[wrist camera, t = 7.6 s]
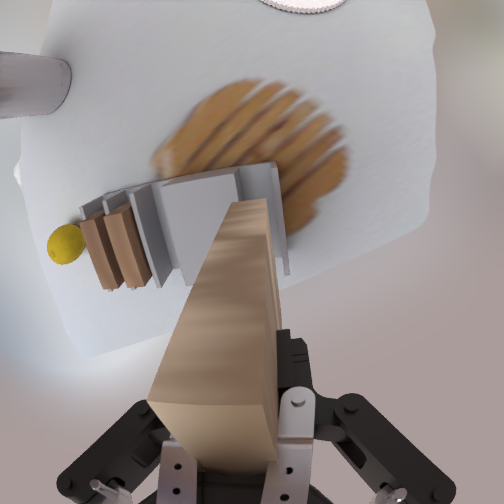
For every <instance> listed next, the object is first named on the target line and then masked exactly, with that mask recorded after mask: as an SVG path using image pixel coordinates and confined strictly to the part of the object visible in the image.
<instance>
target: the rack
mask: <svg viewBox="0 0 504 504" xmlns="http://www.w3.org/2000/svg"><path fill="white" fill-rule="evenodd" d="M261 198H266V200H267V207H268V214H269V222H270V229H271V237H272V244H273V252H274V257H282V256H283V265H284V274H285V276H287V275H290V270H289V260H288V251H287V242H286V233H285V224H284V215H283V207H282V199H281V191H280V183H279V176H278V169H277V165H276V161H269V162H262V163H254V164H247V165H241V166H234V167H228V168H222V169H216V170H210V171H205V172H199V173H194V174H189V175H184V176H179V177H174V178H169V179H165V180H160V181H156V182H151V183H147V184H143V185H139V186H135V187H131V188H127V189H123V190H119V191H115V192H112V193H108V194H105V195H103V196H101V197H99V198H97V199H95V200H93V201H91V202H89V203H87V204H85V205H83V206H81V207H79V209H80V213H81V216H82V220H85V219H86V218H88V217H90V216H91V215H93V214H95V213H96V212H98V211H100V210H101V209H103V208H104V210H105V214H106V215H107V214H109V213H111V212H112V211H114V210H115V209H117V208H119V207H120V206H122V205H123V204H125V203H127V202H128V201H131V205H132V209H133V212H134V216H135V220H136V223H137V227H138V230H139V234H140V237H141V240H142V244H143V247H144V250H145V253H146V256H147V260H148V263H149V266H150V269H151V272H152V275H153V278H154V280H155V283H156V286H157V288H162V286H163V284H164V283H165V281H166V279H167V278H168V276H169V274H170V273H171V271H172V270H173V269H174V268H181V271H182V275H183V278H184V281H185V285H186V286H188V285H194V283H195V280H196V278H197V276H198V274H199V271H200V269H201V267H202V265H203V262H204V260H205V258H206V256H207V254H208V251H209V249H210V247H211V245H212V243H213V240H214V238H215V236H216V234H217V232H218V230H219V228H220V225H221V223H222V221H223V219H224V217H225V215H226V213H227V211H228V208H229V206H230V204H231V203H232V202H239V201H246V200H254V199H261ZM136 288H137V287H131V290H135V289H136ZM108 291H113V289H108Z"/></svg>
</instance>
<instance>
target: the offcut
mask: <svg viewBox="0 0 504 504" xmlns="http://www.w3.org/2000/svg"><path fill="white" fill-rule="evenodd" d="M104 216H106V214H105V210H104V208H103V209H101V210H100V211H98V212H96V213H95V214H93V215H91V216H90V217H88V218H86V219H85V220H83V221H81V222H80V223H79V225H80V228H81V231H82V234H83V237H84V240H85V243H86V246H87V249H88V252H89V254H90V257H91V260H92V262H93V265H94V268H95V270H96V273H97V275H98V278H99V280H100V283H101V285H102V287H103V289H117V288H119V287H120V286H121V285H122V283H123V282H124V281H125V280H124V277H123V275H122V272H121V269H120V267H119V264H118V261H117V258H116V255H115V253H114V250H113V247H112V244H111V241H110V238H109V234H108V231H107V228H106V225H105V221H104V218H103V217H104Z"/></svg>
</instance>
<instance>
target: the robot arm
mask: <svg viewBox="0 0 504 504" xmlns="http://www.w3.org/2000/svg"><path fill="white" fill-rule="evenodd" d="M70 81H71V72H70V68H69V65H68V64H67V63H66V62H65V61H64V60H60V59H55V58H49V57H44V56H37V55H30V54H22V53H11V52H0V119H5V118H13V117H21V116H33V115H45V114H50V113H52V112H54V111H55V110H56V109H57V108H58V107H59V106H60V105H61V104H62V102H63V101H64V99H65V97H66V95H67V93H68V90H69V87H70ZM276 341H277V384H278V394H279V401H280V411H279V418H278V439H277V460H275V461H269V463H268V468H267V474H259V475H254V476H250V477H245V478H239V479H233V478H229V477H226V476H222V475H219V474H215V473H212V472H205V471H204V470H203V469H202V467H203V465H202V463H201V462H200V461H199V460H198V459H195V458H192V457H191V456H190V455H189V454H188V453H187V452H186V451H185V449H184V448H183V447H182V446H181V445H180V444H179V442H178V441H177V440H176V439H175V438H174V436H173V435H172V434H171V433H170V432H169V430H168V429H167V428H166V426H165V425H164V424H163V423H162V421H161V420H160V419H159V417H158V416H157V415H156V413H155V412H154V411H153V409H152V408H151V407H150V405H149V404H148V402H147V401H146V400H141V401H139V402H137V403H135V404H134V405H133V406H132V407H131V408H130V409H129V410H128V411H127V412H126V413H125V414H124V415H123V416H122V417H121V418H120V419H119V420H118V421H117V422H116V423H115V424H113V425H112V426H111V427H110V428H109V429H108V430H107V431H106V432H105V433H104V434H103V435H102V436H101V437H100V438H99V439H98V440H97V441H96V442H95V443H93V444H92V445H91V446H90V448H88V449H87V450H86V451H85V452H84V453H83V454H82V455H81V456H80V457H79V458H77V459H76V460H75V461H74V462H73V463H72V464H71V465H70V466H69V467H68V468H67V469H65V470H64V471H63V472H62V473H61V474H60V475H59V477H58V478H57V483H56V484H57V489H58V491H59V492H60V493H61V494H62V495H63V496H65V497H67V498H69V499H71V500H72V501H73V502H75V503H77V504H132V503H133V502H132V497H131V493H132V492H133V491H134V490H135V489H136V488H137V486H139V485H140V484H141V483H142V481H144V479H145V478H146V477H147V476H148V475H149V474H150V473H151V472H152V471H153V470H154V469H155V468H156V467H157V466H158V465H159V463H160V469H159V480H158V489H157V490H156V491H155V492H154V493H152V494H151V495H150V496H148V497H147V498H146V499H144V500H143V501H141V502H140V503H139V504H333V503H332V502H331V501H330V500H329V499H328V498H326V497H325V496H324V495H323V494H322V493H321V492H320V491H319V490H317V489H316V488H315V487H314V486H312V485H311V484H310V475H311V463H312V452H313V439H317V440H324V441H331V442H332V444H334V446H335V447H336V448H337V450H338V451H339V452H340V453H341V454H342V456H343V457H344V458H345V459H346V460H347V462H348V463H349V464H350V465H351V466H352V467H353V469H354V470H355V471H356V472H357V473H358V474H359V475H360V477H361V478H362V479H363V480H364V481H365V482H366V483H367V484H368V486H369V487H370V488H371V489H372V490H373V491H374V492H375V493H376V495H375V496H374V497H373V498H372V499H371V501H370V504H450V503H451V502H452V501H453V499H454V497H455V495H456V486H455V484H454V482H453V481H452V480H451V479H450V478H449V477H448V476H447V475H445V474H444V473H443V472H442V471H441V470H440V469H439V468H438V467H437V466H435V465H434V464H433V463H432V462H431V461H430V460H429V459H428V458H427V457H426V456H425V455H424V454H423V453H421V452H420V451H419V450H418V449H417V448H416V447H415V446H414V445H413V444H412V443H411V442H410V441H409V440H408V439H407V438H406V437H405V436H404V435H403V434H401V433H400V432H399V431H398V430H397V429H396V428H395V427H394V426H393V425H392V424H391V423H390V422H389V421H388V420H387V419H386V418H385V417H384V416H383V415H381V413H380V412H378V410H377V409H376V408H374V407H373V406H372V405H371V404H370V403H369V402H368V401H367V400H366V399H365V398H364V397H363V396H361V395H359V394H355V393H349V394H345V395H343V396H341V397H340V398H338V399H332V398H326V397H323V396H321V395H319V394H317V392H316V391H315V390H314V389H313V385H312V377H311V370H310V363H309V357H308V349H307V344H306V343H305V342H304V341H303V339H302V338H297V339H291V338H290V329H284V330H276Z"/></svg>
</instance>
